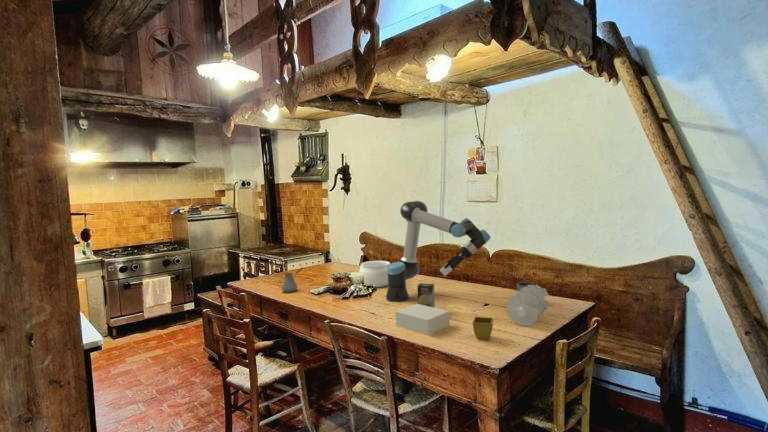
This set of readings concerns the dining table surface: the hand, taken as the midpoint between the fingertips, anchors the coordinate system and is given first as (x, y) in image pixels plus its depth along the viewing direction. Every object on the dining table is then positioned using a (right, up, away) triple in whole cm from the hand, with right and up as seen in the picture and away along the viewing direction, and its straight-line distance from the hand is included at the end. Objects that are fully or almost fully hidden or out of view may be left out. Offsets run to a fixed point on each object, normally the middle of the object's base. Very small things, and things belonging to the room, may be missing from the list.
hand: (442, 273), depth 244 cm
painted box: (-15, -24, -30) cm, 41 cm away
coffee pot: (-103, -21, +57) cm, 119 cm away
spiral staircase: (+42, -21, -29) cm, 55 cm away
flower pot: (+12, -24, -51) cm, 58 cm away
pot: (-41, -18, +64) cm, 79 cm away
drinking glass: (+52, -19, +2) cm, 55 cm away
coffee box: (-10, -22, -7) cm, 25 cm away
